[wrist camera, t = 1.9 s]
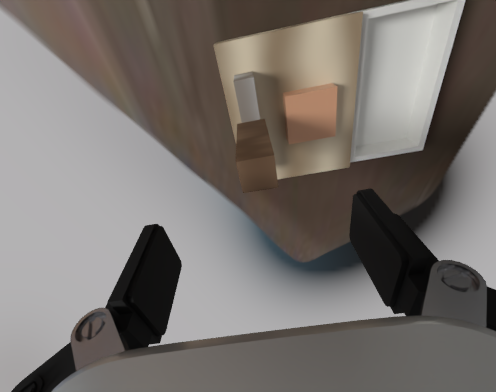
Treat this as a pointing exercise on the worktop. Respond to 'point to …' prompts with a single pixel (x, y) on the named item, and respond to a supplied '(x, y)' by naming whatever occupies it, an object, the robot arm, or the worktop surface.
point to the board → (298, 84)
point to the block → (310, 113)
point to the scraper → (253, 140)
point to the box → (401, 74)
